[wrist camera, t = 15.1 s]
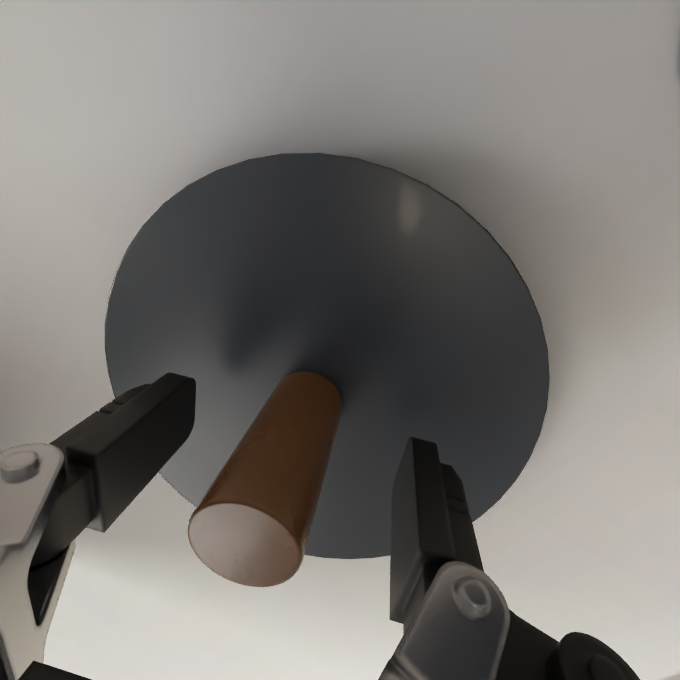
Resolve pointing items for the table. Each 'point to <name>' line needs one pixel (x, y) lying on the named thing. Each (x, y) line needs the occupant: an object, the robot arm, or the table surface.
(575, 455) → the table surface
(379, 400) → the pot lid
